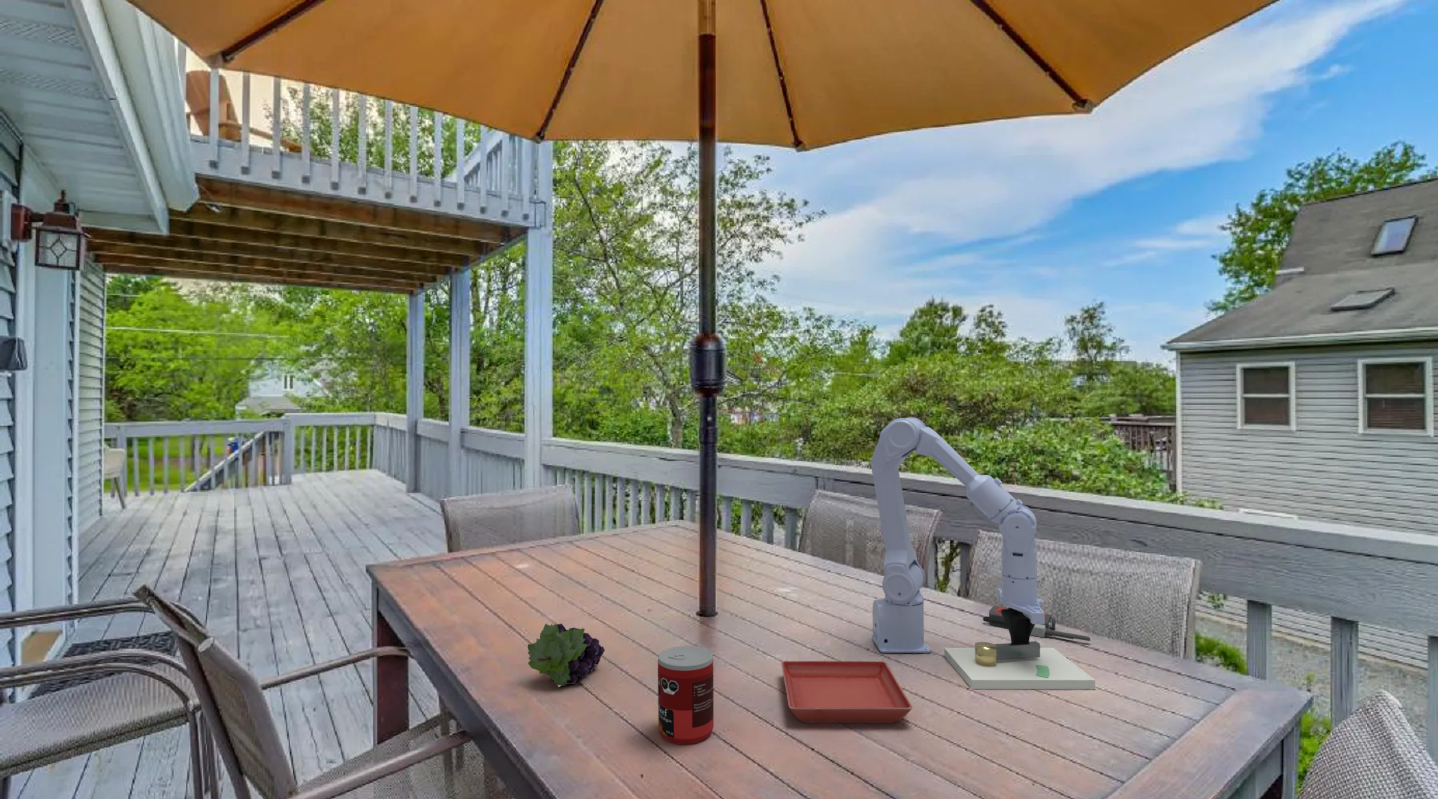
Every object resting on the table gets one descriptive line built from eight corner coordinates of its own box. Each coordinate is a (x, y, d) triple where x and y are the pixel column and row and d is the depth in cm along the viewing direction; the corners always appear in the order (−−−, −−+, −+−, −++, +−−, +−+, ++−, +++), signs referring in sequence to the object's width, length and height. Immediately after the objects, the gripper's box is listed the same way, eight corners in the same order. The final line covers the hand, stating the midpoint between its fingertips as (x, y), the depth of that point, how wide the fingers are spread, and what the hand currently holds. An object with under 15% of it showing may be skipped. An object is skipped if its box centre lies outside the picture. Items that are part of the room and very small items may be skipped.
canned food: (658, 720, 97) (657, 646, 97) (711, 717, 98) (711, 644, 98) (657, 747, 90) (657, 667, 90) (715, 744, 90) (715, 664, 90)
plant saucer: (780, 678, 113) (780, 659, 113) (885, 678, 112) (885, 659, 112) (789, 731, 94) (789, 708, 94) (914, 731, 94) (914, 708, 94)
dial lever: (982, 666, 112) (982, 650, 112) (970, 657, 115) (970, 642, 115) (1044, 661, 114) (1044, 645, 114) (1031, 653, 117) (1031, 638, 117)
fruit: (608, 687, 116) (555, 699, 103) (562, 666, 121) (506, 676, 108) (623, 629, 117) (573, 634, 104) (578, 611, 122) (525, 614, 109)
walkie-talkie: (980, 628, 136) (1089, 648, 125) (980, 607, 136) (1089, 625, 125) (989, 617, 144) (1093, 634, 132) (989, 596, 144) (1093, 612, 132)
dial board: (971, 689, 107) (971, 678, 107) (944, 655, 121) (944, 646, 121) (1095, 689, 106) (1095, 678, 106) (1053, 655, 120) (1052, 646, 120)
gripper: (1062, 586, 109) (1063, 667, 109) (1023, 564, 124) (1024, 636, 124) (1020, 586, 109) (1021, 667, 109) (985, 565, 124) (986, 636, 124)
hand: (1020, 651), depth 116 cm, fingers closed
